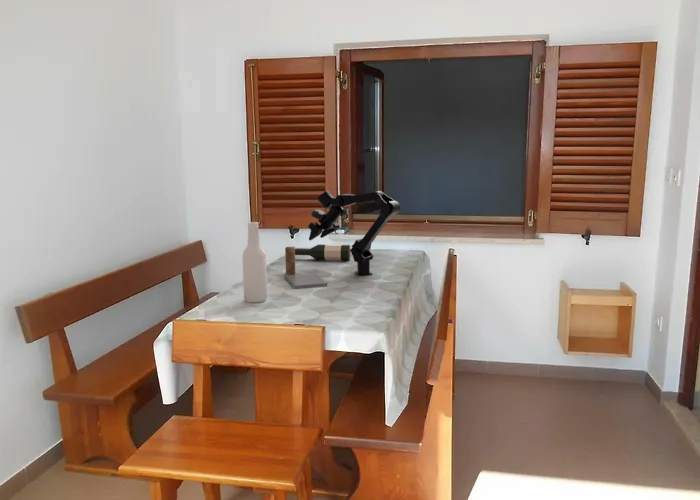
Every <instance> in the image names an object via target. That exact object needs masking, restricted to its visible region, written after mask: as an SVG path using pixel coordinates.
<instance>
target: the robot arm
mask: <svg viewBox="0 0 700 500" xmlns="http://www.w3.org/2000/svg"><path fill="white" fill-rule="evenodd" d="M316 200H317V201H318V202H319V204H320V205H321V206H322V207H323V208H324V209H325V210H326V209H328V210H327V212H325V211H323V210H322V209H314V210H312V212H311V217H312V218H314V219H316V220H317V221H313V222H310V223H309V224H308V225H307V228H309V230H310V233H309V236H308V240H309V242H310V241H312V240H314V239H316V238H317V237H320V238H321V239H323V238H324V237H327V236H328V235H330V234H333V233H334V232H337V231H338V230H339V229H340V223H338V222H339V221H338V219H339V218H340V216H347V209H346V208H345V207H349V206H352V205H355V204H358V203H364V202H371V201H373V202H375V203H376V204H377V206H378V208H379V209H380V210H379V215H378V217H377V218H376V219H375V221H374V223H373V224H372V225H371V226H370V227H369V229H368V230H367V232H366V234H365V235H364V236H363V237H362V238H360V239H355V241H354V243H353V244H352V245H350V254H351V256H352V259H353V261H354V263H355V262H356V266H357V268H356V270H357V271H354V273H355V274H356V275H358V276H368V275H369V276H370V275H373V272H371V271H370V269H371V268H370V267H371V266H370V263H371V260H373V259H374V254H373V252H371V251H370V250H371V248H372V247H371V246H372V243H373V242H374V241H375V239H376V238H377V236H378V235H379V234H380V232H381V231H382V230H383V228H384V227H385V225H386V224H387V223H388V221H390V220H391V219H393V217H395V216H396V215H398V213H399V212H400V211H401V204H400V203H399V201H396V200H394V199H393V198H391V197H390V196H388V195H387V194H385V192H383V191H381V190H376V191H373V192H367V193H361V194H353V193H344V194H343V193H342V194H338V195H336V197H335V196H333V195H332V193H331V192H330V191H329V190H324V192H323V193H321V194H320V195H318V197H317V199H316ZM319 223H320V224H319Z"/></svg>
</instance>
